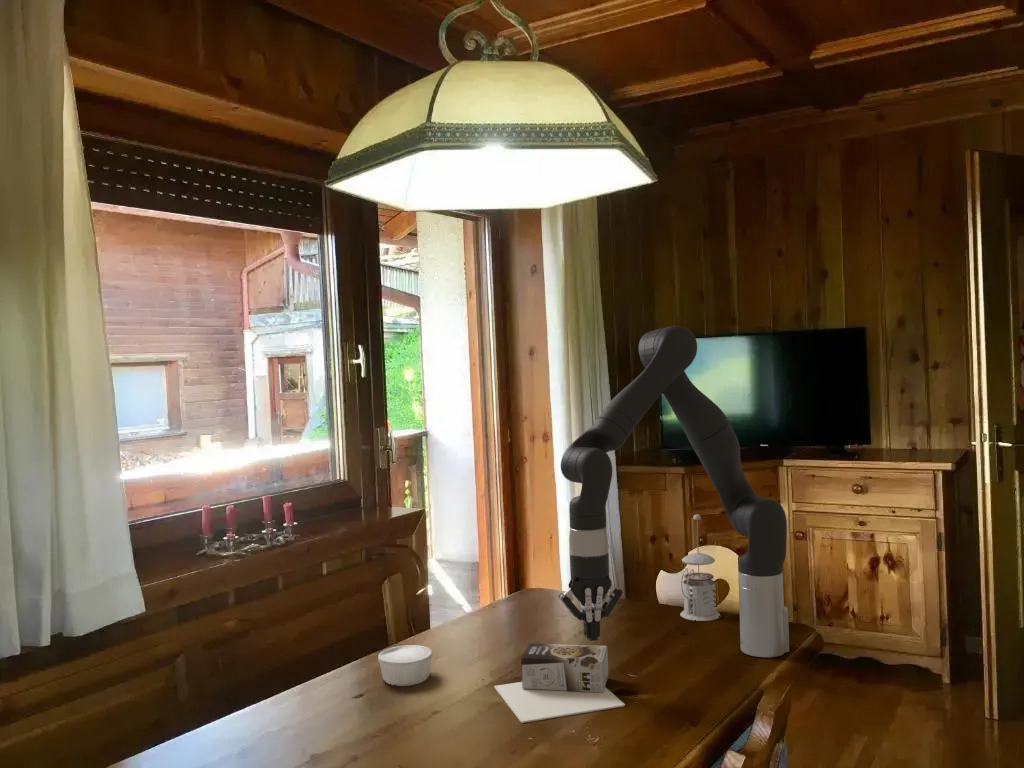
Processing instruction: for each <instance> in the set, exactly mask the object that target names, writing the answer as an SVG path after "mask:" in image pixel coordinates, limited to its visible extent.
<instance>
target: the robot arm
mask: <svg viewBox="0 0 1024 768" xmlns="http://www.w3.org/2000/svg"><path fill="white" fill-rule="evenodd" d="M697 354H698V341H697V339H696V335H694V333H693V331H691V329H690V328H688V327H685V326H683V325H672V326H666V327H661V328H658V329H655V330H650V331H648V332H645V333H644V334H643V335H642V336H641V338H640V339H639V343H638V355H639V359H640V361H641V364H642V365H643V367H644V369H643V370H642V372H640V374H639V375H637V377H635V379H634V380H632V381H631V382H630V383H629V384H627V385H626V386H625V387H624V388H623V389H622V390H620V392H619V393H617V394H616V395H614V397H613V398H612V399H611V400H610V401H609V403H608V404H607V405H606V407H605V408H604V409H603V411H602V412H601V413H600V415H599V416H598V417H597V419H596V420H595V421H594V423H593V424H592V426H590V427H589V428H587V430H585V431H584V432H582V433H581V435H578V437H577V438H576V439H575V440H574V441H573V442H571V444H570V445H569V446H568V447H567V448H566V449H565V451H564V453H563V455H562V457H561V461H560V471H561V473H562V475H563V477H564V478H565V479H566V480H567V481H570V482H572V483H578V484H581V489H580V494H579V495H577V496H575V497H573V498H571V500H570V502H569V509H568V510H569V511H568V512H569V536H568V537H569V539H568V542H569V543H568V544H569V545H568V546H569V547H568V548H569V549H568V550H569V572H570V573H569V574H570V575H569V576H570V580H569V582H568V588H567V589H566V590H565V591H564V592H562V593H561V592H560V593H559V594H558V599H559V600H560V601H561V603H562V604H563V606H565V608H567V610H568V611H569V612H570V613H571V614H572V615H573V616H574V617H575V618H576V619H577V620H579V621H583V636H584V637H585V638H586V639H587V640H589V642H594V641H598V639H599V637H601V620H602V619H603V618H607V617H608V616H609V615H610V614H611V612H612V611H613V609H614V608H615V606H616V604H617V603H618V601H619V600H620V599H621V596H622V595H623V591H622V589H620V588H618V587H617V586H614V585H613V584H612V583H613V582H612V580H611V578H610V562H609V561H610V554H609V553H610V552H609V549H610V544H609V536H608V530H607V510H606V507H607V506H606V505H607V501H608V497H609V494H610V488H611V484H612V483H611V482H612V479H613V465H612V460H611V458H610V456H609V454H608V453H609V452H612V451H616V450H619V449H620V448H621V447H622V446H623V445H624V444H625V443H626V441H627V439H629V437H630V436H631V434H632V433H633V431H634V430H635V428H636V427H637V425H638V424H639V423H640V421H642V418H643V417H644V416H645V415H646V413H647V412H648V411H649V409H650V408H651V407H652V406H653V405H654V404H655V402H656V401H657V400H658V399H659V398H660V397H661V395H663V397H664V398H665V400H666V401H667V403H668V405H669V407H670V408H671V410H672V412H673V414H674V415H675V418H677V421H678V422H679V424H680V426H681V427H682V429H683V431H684V433H685V436H686V437H687V439H688V442H689V443H690V445H691V447H692V449H693V451H694V452H695V455H696V456H697V457H698V459H699V461H700V463H701V465H702V466H703V467H704V470H705V472H706V474H707V475H708V477H709V479H710V481H711V482H712V484H713V486H714V487H715V490H716V492H717V494H718V496H719V499H720V501H721V504H722V506H723V509H724V511H725V514H726V515H727V519H728V521H729V522H730V524H731V527H732V528H733V529H734V530H735V532H737V534H739V535H741V536H742V537H745V538H748V539H747V540H748V544H747V545H748V546H747V553H745V554H743V555H741V556H740V557H739V558H738V561H737V570H738V571H737V573H738V575H737V576H738V578H737V579H738V580H737V581H738V604H739V606H738V607H739V634H740V635H739V636H740V637H739V639H740V640H739V642H740V651H741V652H742V653H744V654H746V655H748V656H752V657H758V658H775V657H776V658H777V657H780V656H783V655H784V654H785V653H788V652H790V638H789V637H790V635H789V634H790V633H789V631H790V630H789V609H788V607H787V606H785V604H784V603H785V602H784V600H785V599H784V598H785V597H784V573H783V572H784V571H783V570H784V569H783V568H784V567H783V566H784V563H785V560H786V557H787V538H788V537H787V534H788V525H787V517H786V513H785V510H784V508H783V506H782V505H781V503H780V502H778V501H777V500H775V499H771V498H767V497H762V496H759V495H758V494H757V493H756V492H755V490H754V489H753V488H752V486H751V484H750V483H749V481H748V479H747V478H746V476H745V474H744V471H743V468H742V467H743V466H742V461H741V447H740V443H739V439H738V437H737V434H736V432H735V430H734V428H733V426H732V425H731V422H730V420H728V417H727V415H726V414H725V412H723V411H724V410H722V409H721V408H720V407H719V405H717V404H716V403H715V402H713V400H711V399H710V397H708V396H707V395H706V394H704V393H703V391H701V390H700V389H698V388H697V387H696V386H695V385H694V383H693V382H692V381H691V379H690V377H689V376H688V375H687V373H686V370H687V369H688V367H690V366H691V365H692V363H693V362H694V360H695V358H696V356H697ZM573 596H574V597H575V598H576V599H577V601H578V602H579V606H580V607H579V608H580V609H581V610H580V609H579V608H578V607H577V606H576V605H575V604H574V603H573V601H574V597H573ZM605 597H606V598H605Z"/></svg>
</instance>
